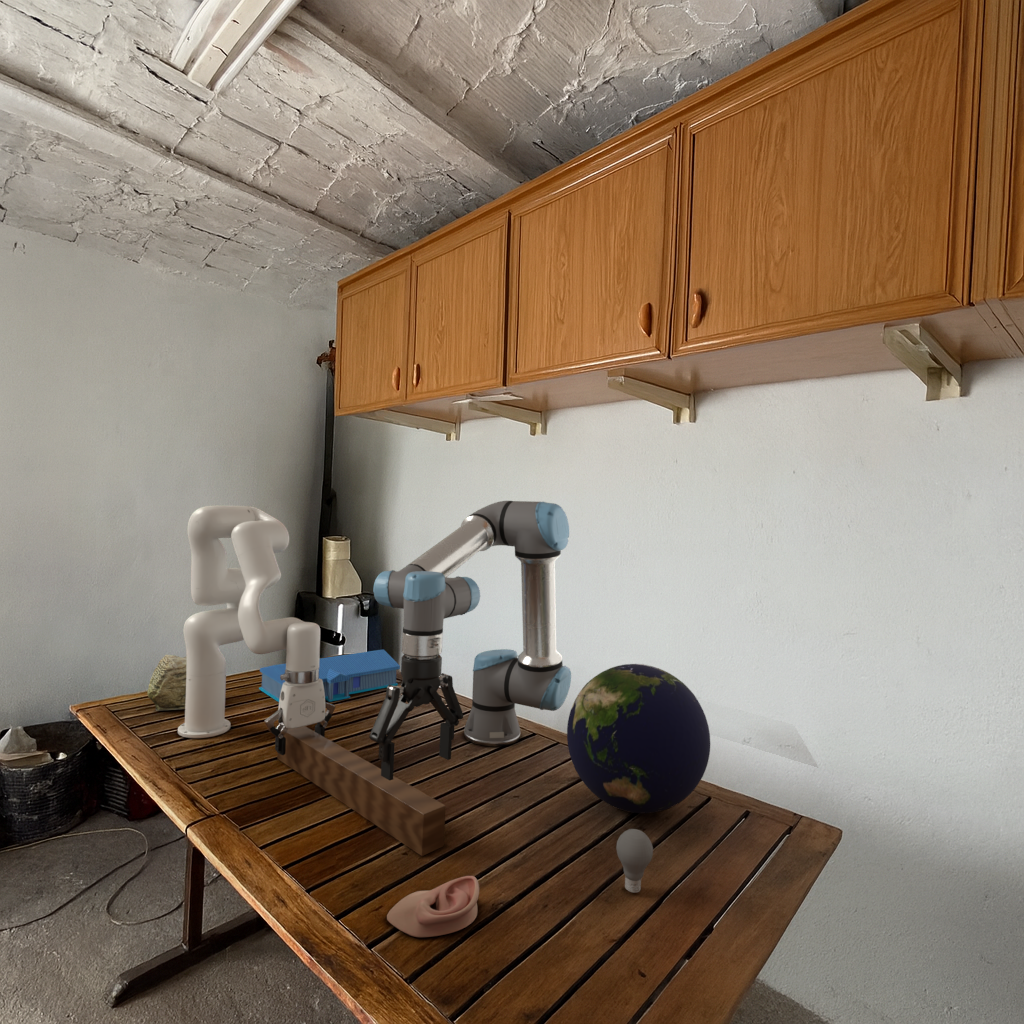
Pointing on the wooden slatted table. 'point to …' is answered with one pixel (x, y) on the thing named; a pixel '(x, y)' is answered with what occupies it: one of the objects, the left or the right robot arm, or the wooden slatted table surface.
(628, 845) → the light bulb
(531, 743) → the wooden slatted table surface
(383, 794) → the beam
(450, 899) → the anatomical model
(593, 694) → the globe
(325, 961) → the wooden slatted table surface
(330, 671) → the model building
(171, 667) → the fossil
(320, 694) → the left robot arm
